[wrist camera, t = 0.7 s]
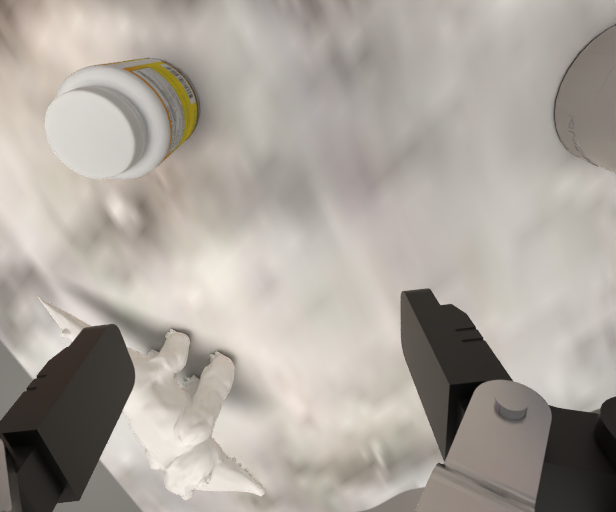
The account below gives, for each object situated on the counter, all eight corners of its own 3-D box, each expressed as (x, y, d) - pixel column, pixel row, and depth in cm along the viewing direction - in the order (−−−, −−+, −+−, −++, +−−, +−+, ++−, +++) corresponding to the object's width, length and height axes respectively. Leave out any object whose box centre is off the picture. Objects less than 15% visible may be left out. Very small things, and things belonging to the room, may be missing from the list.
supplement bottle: (114, 132, 28) (24, 177, 19) (120, 45, 25) (20, 49, 16) (194, 155, 28) (145, 209, 19) (208, 73, 26) (159, 93, 17)
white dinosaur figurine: (254, 435, 42) (229, 550, 32) (52, 294, 36) (-58, 380, 26) (298, 401, 39) (286, 514, 29) (90, 244, 34) (-15, 318, 23)
